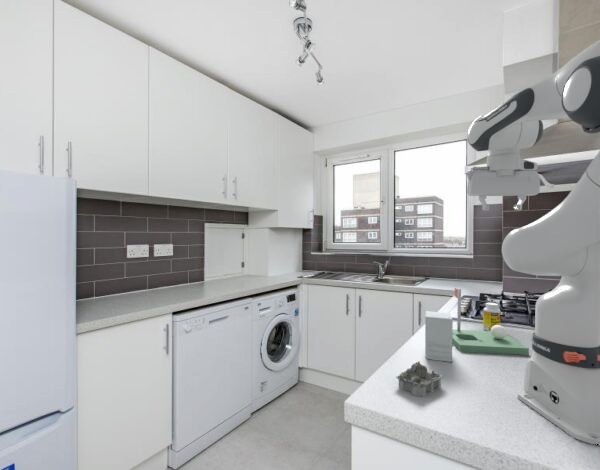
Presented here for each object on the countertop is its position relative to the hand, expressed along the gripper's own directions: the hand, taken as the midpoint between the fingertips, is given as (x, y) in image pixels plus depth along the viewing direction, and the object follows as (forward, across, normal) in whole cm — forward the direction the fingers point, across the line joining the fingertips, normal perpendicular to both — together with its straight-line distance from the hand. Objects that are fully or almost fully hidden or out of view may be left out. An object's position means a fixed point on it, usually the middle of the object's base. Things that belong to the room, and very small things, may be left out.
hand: (501, 210), depth 100 cm
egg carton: (+45, -31, -28) cm, 62 cm away
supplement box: (+45, -21, -8) cm, 50 cm away
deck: (+44, -3, +6) cm, 45 cm away
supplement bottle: (+45, +7, +21) cm, 50 cm away
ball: (+40, +2, +5) cm, 41 cm away
